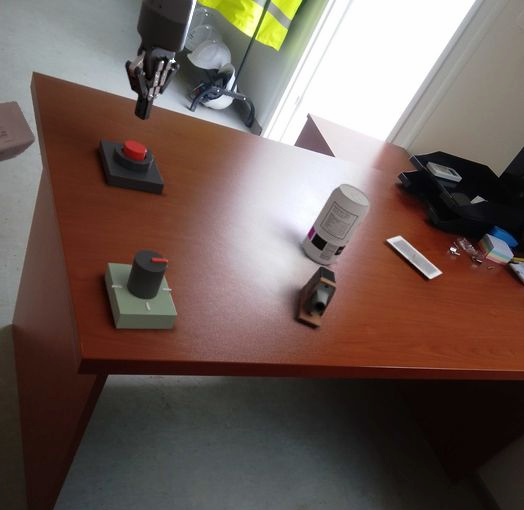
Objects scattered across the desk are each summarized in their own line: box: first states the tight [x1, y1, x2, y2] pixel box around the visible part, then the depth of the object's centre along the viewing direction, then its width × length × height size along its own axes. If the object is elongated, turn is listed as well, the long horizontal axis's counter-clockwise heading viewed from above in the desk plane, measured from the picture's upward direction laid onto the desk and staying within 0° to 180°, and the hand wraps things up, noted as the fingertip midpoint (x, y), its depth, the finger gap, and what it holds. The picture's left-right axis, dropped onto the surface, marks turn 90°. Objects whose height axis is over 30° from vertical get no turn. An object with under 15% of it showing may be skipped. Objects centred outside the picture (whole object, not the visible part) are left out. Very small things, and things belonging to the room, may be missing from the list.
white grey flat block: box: [386, 235, 443, 280], centre depth 116 cm, size 8×15×2 cm, turn 46°
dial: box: [127, 249, 168, 299], centre depth 63 cm, size 4×4×6 cm
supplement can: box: [302, 183, 372, 266], centre depth 94 cm, size 8×8×15 cm
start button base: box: [98, 138, 165, 195], centre depth 88 cm, size 12×10×4 cm
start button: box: [123, 139, 147, 160], centre depth 86 cm, size 4×4×2 cm
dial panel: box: [104, 262, 178, 330], centre depth 66 cm, size 10×9×3 cm
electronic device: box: [296, 265, 337, 329], centre depth 81 cm, size 4×10×8 cm, turn 174°
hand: (141, 117), depth 82 cm, fingers closed
